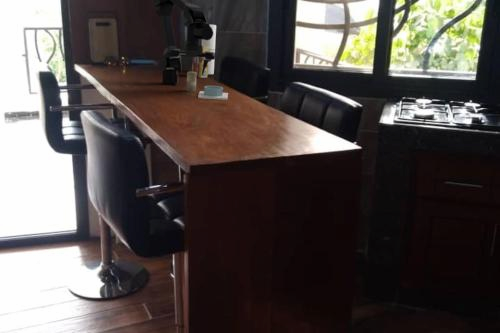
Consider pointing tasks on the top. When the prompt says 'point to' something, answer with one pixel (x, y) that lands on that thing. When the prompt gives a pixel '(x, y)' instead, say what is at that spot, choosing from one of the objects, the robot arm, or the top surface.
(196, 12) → the robot arm
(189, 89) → the rail post
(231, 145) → the top surface
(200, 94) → the cup bracket
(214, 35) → the cylindrical container
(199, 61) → the candy box
